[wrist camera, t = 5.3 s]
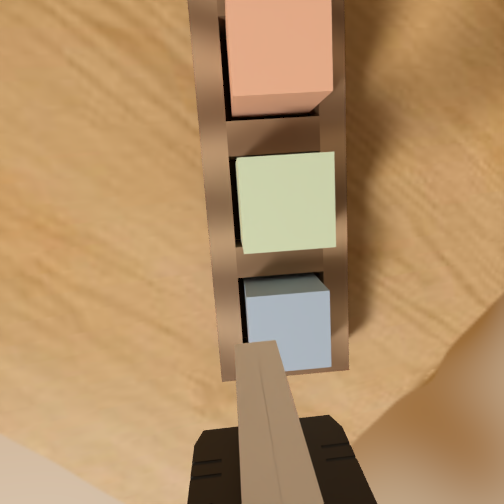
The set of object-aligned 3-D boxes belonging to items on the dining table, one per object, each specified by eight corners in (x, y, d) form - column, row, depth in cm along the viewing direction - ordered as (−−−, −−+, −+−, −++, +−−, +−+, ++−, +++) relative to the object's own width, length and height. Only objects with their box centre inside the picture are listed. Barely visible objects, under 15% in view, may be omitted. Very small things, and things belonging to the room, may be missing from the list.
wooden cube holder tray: (192, 12, 28) (186, -15, 24) (328, 7, 29) (343, -22, 25) (222, 358, 34) (222, 381, 30) (335, 348, 34) (348, 369, 30)
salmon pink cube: (225, 34, 26) (224, -19, 19) (304, 30, 27) (330, -23, 20) (231, 118, 28) (232, 96, 21) (307, 113, 28) (333, 90, 21)
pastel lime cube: (235, 163, 28) (237, 157, 21) (309, 159, 28) (334, 151, 22) (240, 237, 29) (243, 254, 22) (311, 232, 30) (336, 247, 23)
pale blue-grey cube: (242, 272, 32) (246, 297, 25) (308, 267, 32) (329, 290, 25) (247, 334, 33) (251, 374, 26) (310, 329, 33) (331, 366, 26)
